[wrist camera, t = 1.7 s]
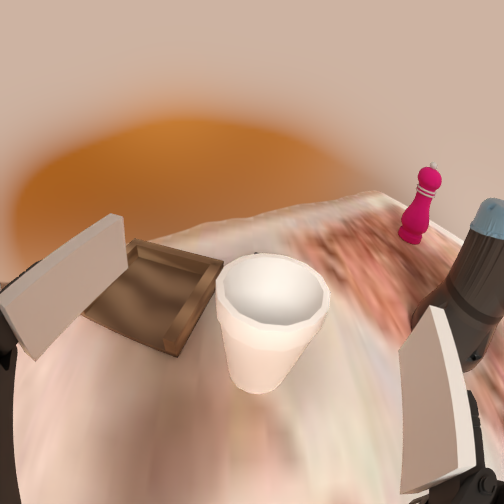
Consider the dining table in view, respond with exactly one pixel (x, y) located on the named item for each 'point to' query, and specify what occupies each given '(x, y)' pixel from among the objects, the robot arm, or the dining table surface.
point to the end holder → (157, 296)
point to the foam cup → (268, 316)
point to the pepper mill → (420, 205)
